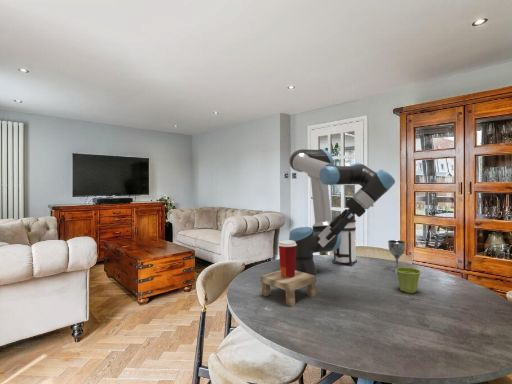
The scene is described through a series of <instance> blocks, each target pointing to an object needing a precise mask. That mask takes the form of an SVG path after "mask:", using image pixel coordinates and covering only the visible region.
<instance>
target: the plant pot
mask: <svg viewBox="0 0 512 384" xmlns="http://www.w3.org/2000/svg"><path fill="white" fill-rule="evenodd" d="M395 268H396V267H395ZM396 271H397V272H396V274H397V279H398V284H399V285H398V286H399V290H400V291H401V292H404V293H407V294H415V293H417V292H418V291H417V290H418V283H419V278H420V275H421V274H422V271H421V270H420V269H418V268H414V267H408V266H400V267H399V266H398V268H396Z"/></svg>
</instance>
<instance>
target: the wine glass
mask: <svg viewBox="0 0 512 384" xmlns="http://www.w3.org/2000/svg"><path fill="white" fill-rule="evenodd" d="M387 243H388V250H389V253H390V254H391V255H392V256H393V257H394V259H395V260H394V261H395V266H396V267H393V268H391V267H390V269H389V271H391V272H395V273H397V271H396V268H398V267H399V259H400V258H401V257H402V256H403V255H404V253H405V250H406V241H404V240H400V239H399V240H397V239H396V240H395V239H390V240H388V242H387Z"/></svg>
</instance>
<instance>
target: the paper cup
mask: <svg viewBox="0 0 512 384" xmlns="http://www.w3.org/2000/svg"><path fill="white" fill-rule="evenodd" d="M296 245H297V244H296V242H295V241H292V240H289V239H285V240H279V241H278V244H277V246H278V251H279V252H278V254H279V255H278V256H279V265H280V266H279V268H280V269H279V270H281V276H282V277H284V278H292V277H294V276H295V260H296Z"/></svg>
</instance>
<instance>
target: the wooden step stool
mask: <svg viewBox="0 0 512 384" xmlns="http://www.w3.org/2000/svg"><path fill="white" fill-rule="evenodd" d="M260 282H261V295H264V296H263V297H265V296H268V297H270V296H271V286H272V287H274V288H278V289H281V290H284V291H285V305H286V306H288V307H294V306H295V305H296V293H295V292H296V290H298V289H299V290H300V289H301V288H304V287H306V296H308V297H311V298H313V297H315V296H316V282H317V275H316V276H315V275H311V274H307V273H304V272H300V271H296V270H295V276H294V277H292V278H284V277H282V276H281V270H280V269H279V270H277V271H273V272H270V273H266V274H264V275H260ZM269 295H270V296H269Z"/></svg>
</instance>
